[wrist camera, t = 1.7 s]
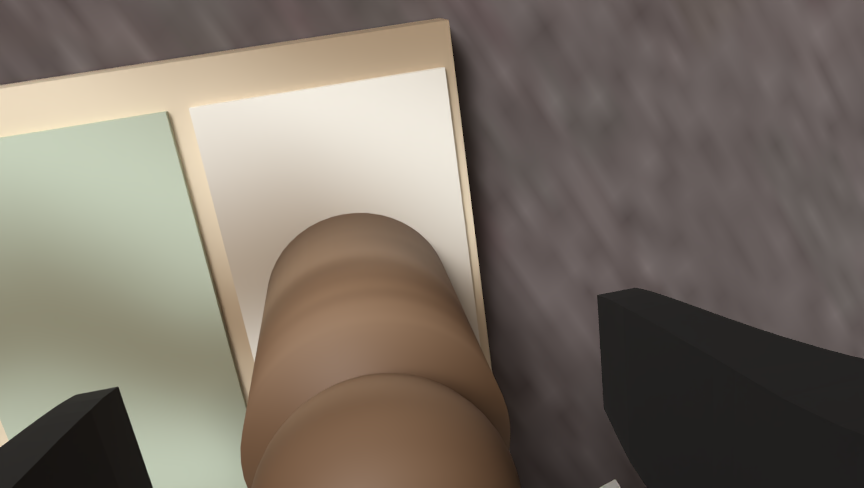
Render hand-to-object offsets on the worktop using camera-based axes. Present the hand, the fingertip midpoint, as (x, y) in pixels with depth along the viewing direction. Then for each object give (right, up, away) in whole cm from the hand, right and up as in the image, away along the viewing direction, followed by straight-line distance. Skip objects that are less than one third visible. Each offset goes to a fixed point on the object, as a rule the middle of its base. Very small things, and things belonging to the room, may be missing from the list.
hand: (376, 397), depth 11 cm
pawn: (-1, +1, +4) cm, 4 cm away
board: (-6, +1, +4) cm, 7 cm away
